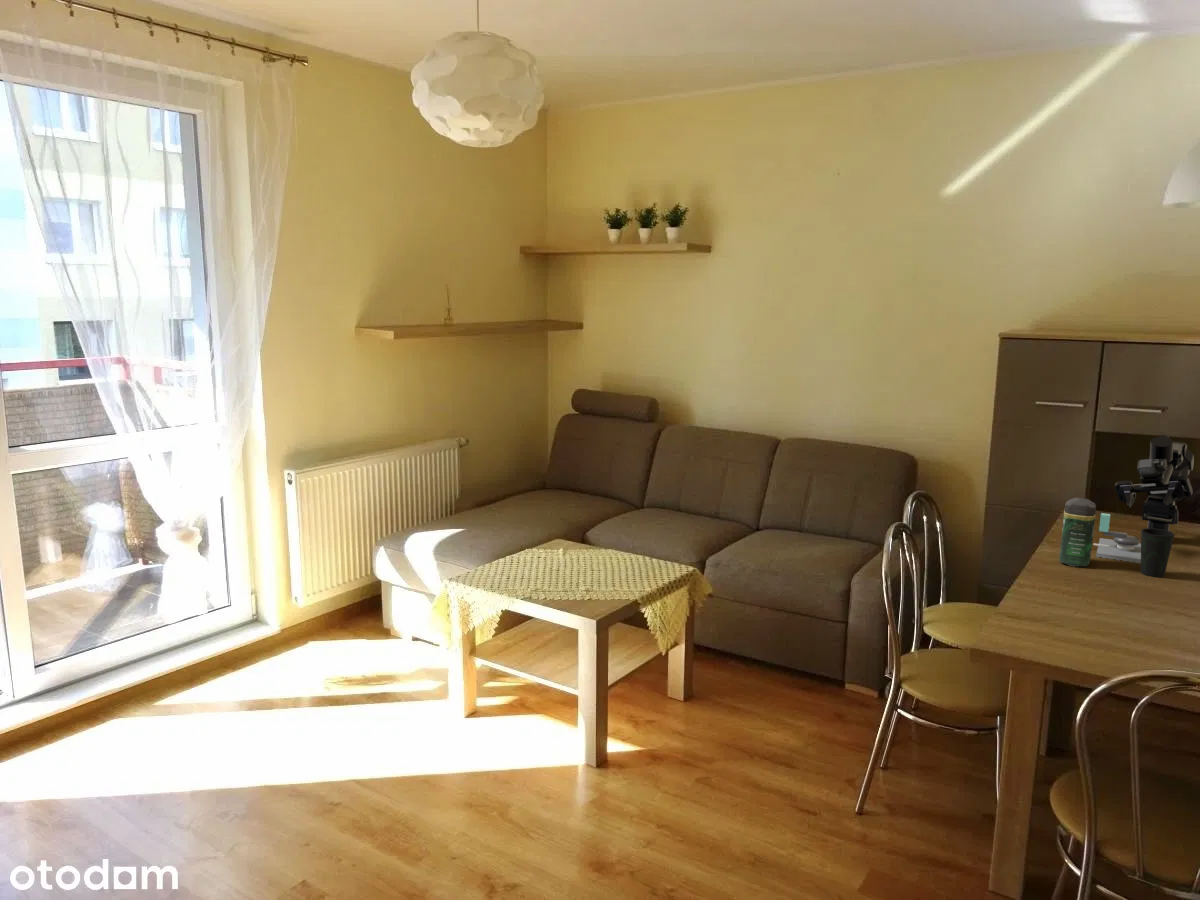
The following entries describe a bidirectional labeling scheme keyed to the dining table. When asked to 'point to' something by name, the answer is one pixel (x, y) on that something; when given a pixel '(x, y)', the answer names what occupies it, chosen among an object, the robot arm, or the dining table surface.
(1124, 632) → the dining table surface
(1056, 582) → the dining table surface
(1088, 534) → the coffee jar
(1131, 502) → the robot arm
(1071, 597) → the dining table surface
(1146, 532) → the cup
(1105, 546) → the base
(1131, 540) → the handle
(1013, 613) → the dining table surface
